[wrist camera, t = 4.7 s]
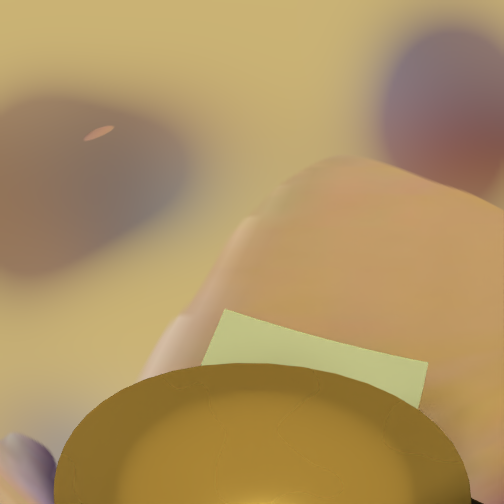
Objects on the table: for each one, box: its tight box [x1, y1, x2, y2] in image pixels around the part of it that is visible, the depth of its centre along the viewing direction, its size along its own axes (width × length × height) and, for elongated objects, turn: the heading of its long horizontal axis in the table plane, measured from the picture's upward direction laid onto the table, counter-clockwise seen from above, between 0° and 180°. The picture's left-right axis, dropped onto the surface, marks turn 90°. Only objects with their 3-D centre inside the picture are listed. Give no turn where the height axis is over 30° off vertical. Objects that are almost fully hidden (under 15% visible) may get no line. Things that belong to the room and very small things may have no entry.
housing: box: [201, 309, 428, 409], centre depth 12 cm, size 12×12×2 cm
